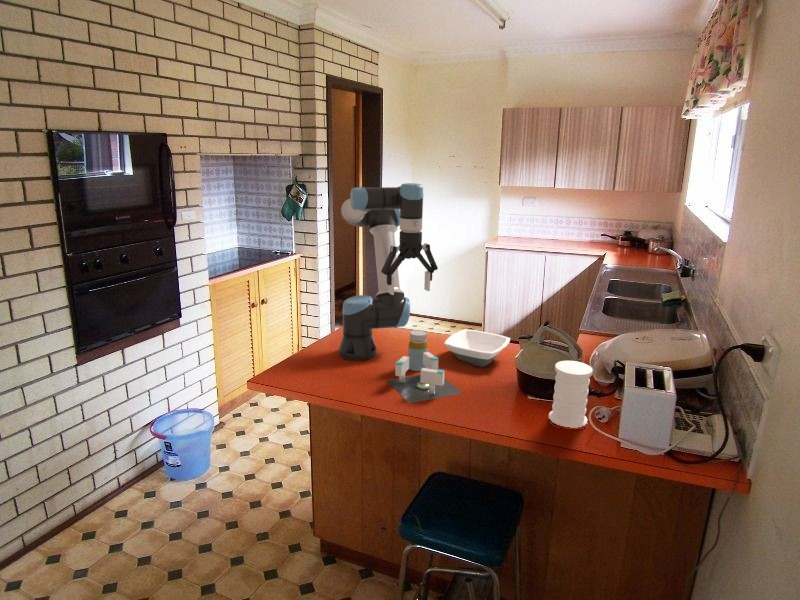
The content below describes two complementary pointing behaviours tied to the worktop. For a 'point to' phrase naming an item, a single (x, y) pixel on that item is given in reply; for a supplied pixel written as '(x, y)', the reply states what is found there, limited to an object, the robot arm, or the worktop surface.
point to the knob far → (430, 361)
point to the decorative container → (570, 394)
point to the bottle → (417, 349)
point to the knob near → (402, 368)
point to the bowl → (476, 346)
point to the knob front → (432, 378)
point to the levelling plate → (421, 389)
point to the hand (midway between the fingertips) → (409, 292)
